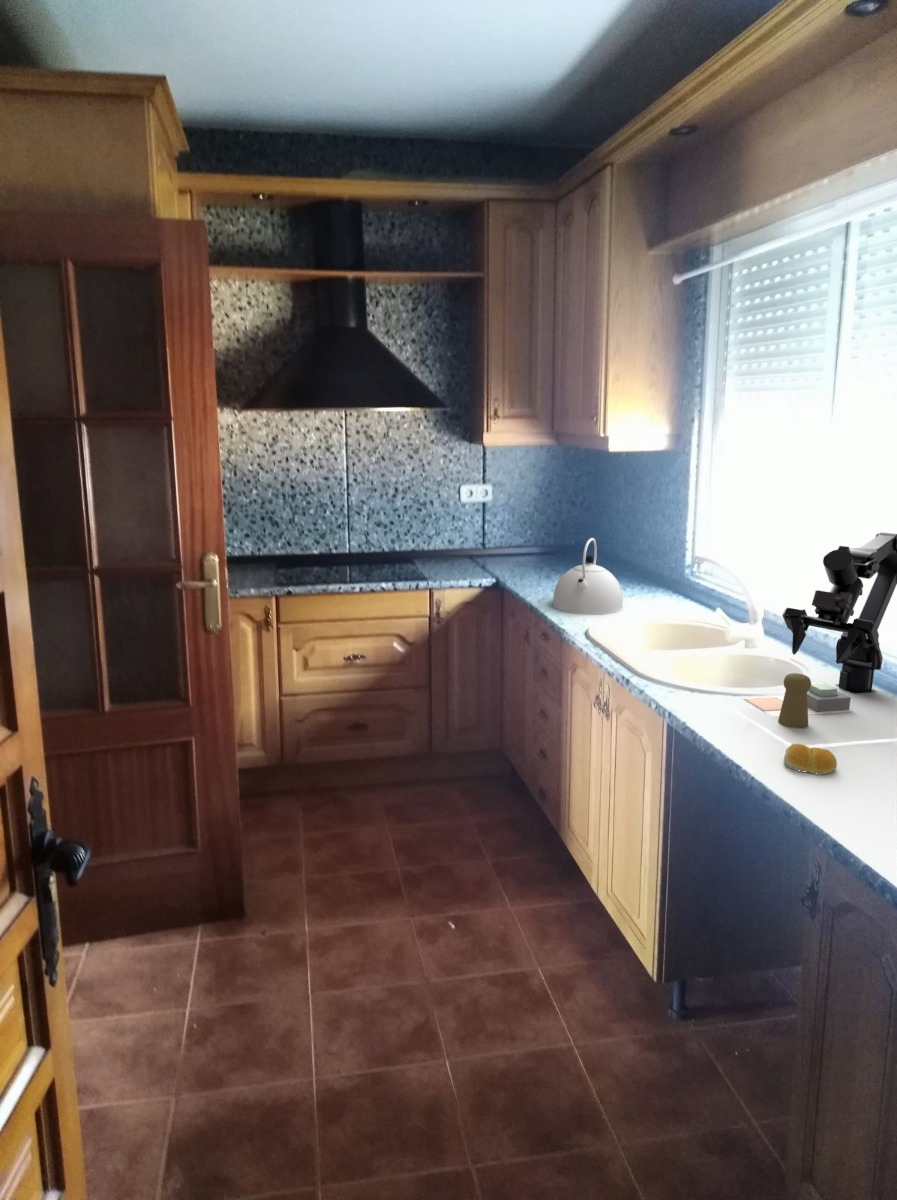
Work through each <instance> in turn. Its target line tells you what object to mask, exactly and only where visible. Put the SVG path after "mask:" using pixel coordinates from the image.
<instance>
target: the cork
mask: <svg viewBox="0 0 897 1200" xmlns="http://www.w3.org/2000/svg"><path fill="white" fill-rule="evenodd" d="M811 684H812V681H811V678H810V677H809V676H807V675H805V674H802V673H796V672H795V673H794V672H793V673H788V674H786V675H785V677H784V679H783V687H784V688H785V691H784V695H783V696H784V699H783V703H782V707H781V711H780V715H779V717H778V721H777V723H778V724H779V725H781V726H784V727H786V728H792V729H805V728H808V727H809V715H808V701H807V692H808V691H809V689H810V687H811Z"/></svg>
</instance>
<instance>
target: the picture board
mask: <svg viewBox="0 0 897 1200" xmlns="http://www.w3.org/2000/svg"><path fill="white" fill-rule="evenodd" d="M851 698H852V697H851V696H849V695H847V694H844V693H842V691H841V692H840V691H839V690H837V696H825V697H819V696H817V695H815V694H813V693H811V692H809V691H808V692H807V701H808V716H809V715H810V716H811V715H821V714H823V715H825V714H836V713H837V714H838V713H850V712H853V711H852V710H850V707H851V706H850V705H851ZM783 699H784V695H780V696H779V695H777V696H776V695H775V696H766V697H765V696H761V697H749V698H747V697H744V698H743V700H744V701H745V702H747V703H748V704H750V705H752V706H754V707H755V708H757V709H758V710H760V711H762V712H764V713H765V714H767V715H768V716H770V717H771V718H779V715H780V711H781V707H782V703H783Z"/></svg>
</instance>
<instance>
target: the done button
mask: <svg viewBox="0 0 897 1200" xmlns="http://www.w3.org/2000/svg"><path fill="white" fill-rule="evenodd" d="M837 691H838V688H836V687H834V686H832V685H830V684H828V683H826V682H825V683H811V687H810V689H809V692H811V693H813V694H815V695H817V696H819V697H825V696H837Z"/></svg>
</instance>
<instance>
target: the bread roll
mask: <svg viewBox="0 0 897 1200" xmlns="http://www.w3.org/2000/svg"><path fill="white" fill-rule="evenodd" d="M783 764H784V765H785V766H786V767H787V766H788V767H787V768H789V767H791V768H793V769H796V770H800V771H806V772H809V773H811V772H812V773H817V774H816V775H818V774H824V775H828V774H830V773H833V772H834V771H836V769H837V765H838V762H837V758H836V756H835V755H834V753H832V752H831V751H830V750H829V749H825V748H820V747H813V746H812V747H808V746H807V745H805V744H800V743H793V744H791V745H790V746H788V747H787V748H786V749H785V754H784V757H783ZM791 768H790V769H791ZM793 769H792V770H793ZM796 770H795V771H796ZM800 771H799V772H800ZM806 772H805V773H806ZM812 773H811V774H812ZM827 773H828V774H827Z"/></svg>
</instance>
